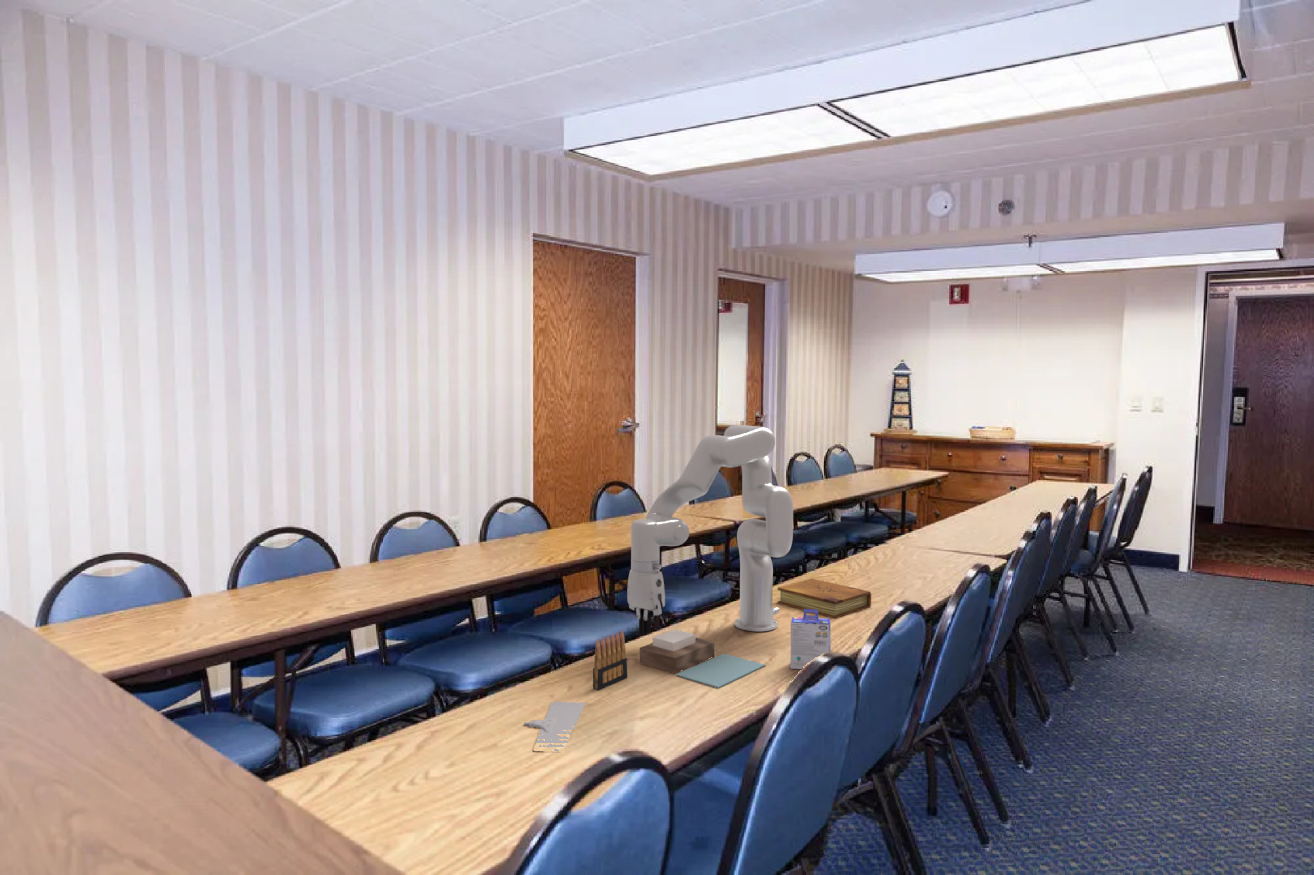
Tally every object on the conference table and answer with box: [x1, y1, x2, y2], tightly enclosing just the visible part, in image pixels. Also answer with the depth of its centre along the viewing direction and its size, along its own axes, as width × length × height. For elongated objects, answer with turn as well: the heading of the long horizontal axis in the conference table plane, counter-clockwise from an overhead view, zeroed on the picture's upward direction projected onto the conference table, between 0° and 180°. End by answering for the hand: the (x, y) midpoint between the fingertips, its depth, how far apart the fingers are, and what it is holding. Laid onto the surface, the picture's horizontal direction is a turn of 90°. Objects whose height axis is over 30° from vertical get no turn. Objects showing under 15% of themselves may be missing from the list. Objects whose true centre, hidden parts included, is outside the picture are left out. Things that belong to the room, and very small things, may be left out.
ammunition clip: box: [592, 629, 628, 691], centre depth 201 cm, size 11×2×12 cm, turn 142°
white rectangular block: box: [652, 628, 696, 651], centre depth 218 cm, size 9×7×2 cm
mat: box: [675, 653, 766, 689], centre depth 210 cm, size 20×13×1 cm, turn 139°
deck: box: [639, 636, 715, 674], centre depth 218 cm, size 16×12×4 cm
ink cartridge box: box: [789, 609, 832, 670], centre depth 212 cm, size 10×6×14 cm, turn 78°
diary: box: [777, 578, 872, 619], centre depth 270 cm, size 23×19×6 cm
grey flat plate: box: [523, 701, 587, 751], centre depth 178 cm, size 25×24×1 cm
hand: (645, 633), depth 225 cm, fingers closed
